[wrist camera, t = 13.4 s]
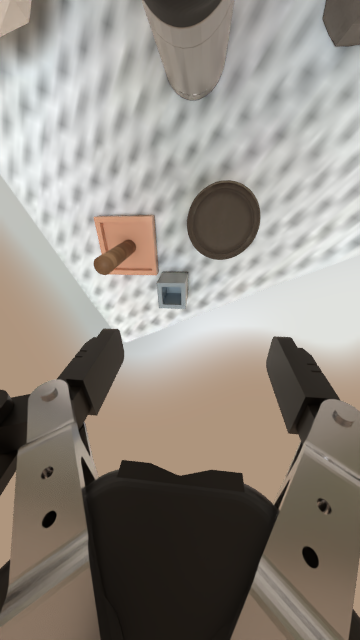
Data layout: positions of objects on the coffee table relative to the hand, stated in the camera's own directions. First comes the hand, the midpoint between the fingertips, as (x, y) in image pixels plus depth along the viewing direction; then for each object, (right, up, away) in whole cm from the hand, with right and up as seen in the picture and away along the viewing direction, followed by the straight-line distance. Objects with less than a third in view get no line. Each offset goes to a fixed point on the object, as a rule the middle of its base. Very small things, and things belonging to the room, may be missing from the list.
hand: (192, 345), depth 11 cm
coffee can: (+7, +23, +30) cm, 39 cm away
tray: (-12, +18, +35) cm, 41 cm away
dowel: (-12, +18, +34) cm, 40 cm away
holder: (-2, +10, +39) cm, 40 cm away
